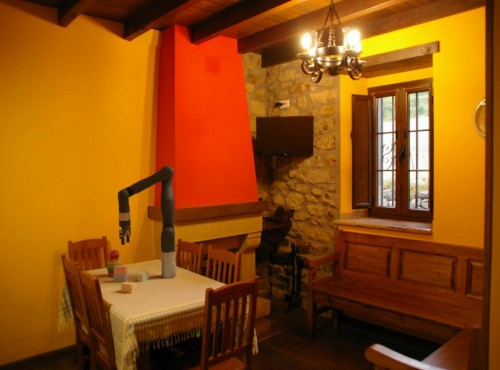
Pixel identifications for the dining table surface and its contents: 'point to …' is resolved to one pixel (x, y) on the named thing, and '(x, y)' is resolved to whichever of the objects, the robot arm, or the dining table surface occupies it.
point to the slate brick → (119, 278)
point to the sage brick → (143, 276)
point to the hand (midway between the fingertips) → (125, 243)
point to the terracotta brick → (120, 270)
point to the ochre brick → (128, 287)
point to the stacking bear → (113, 262)
